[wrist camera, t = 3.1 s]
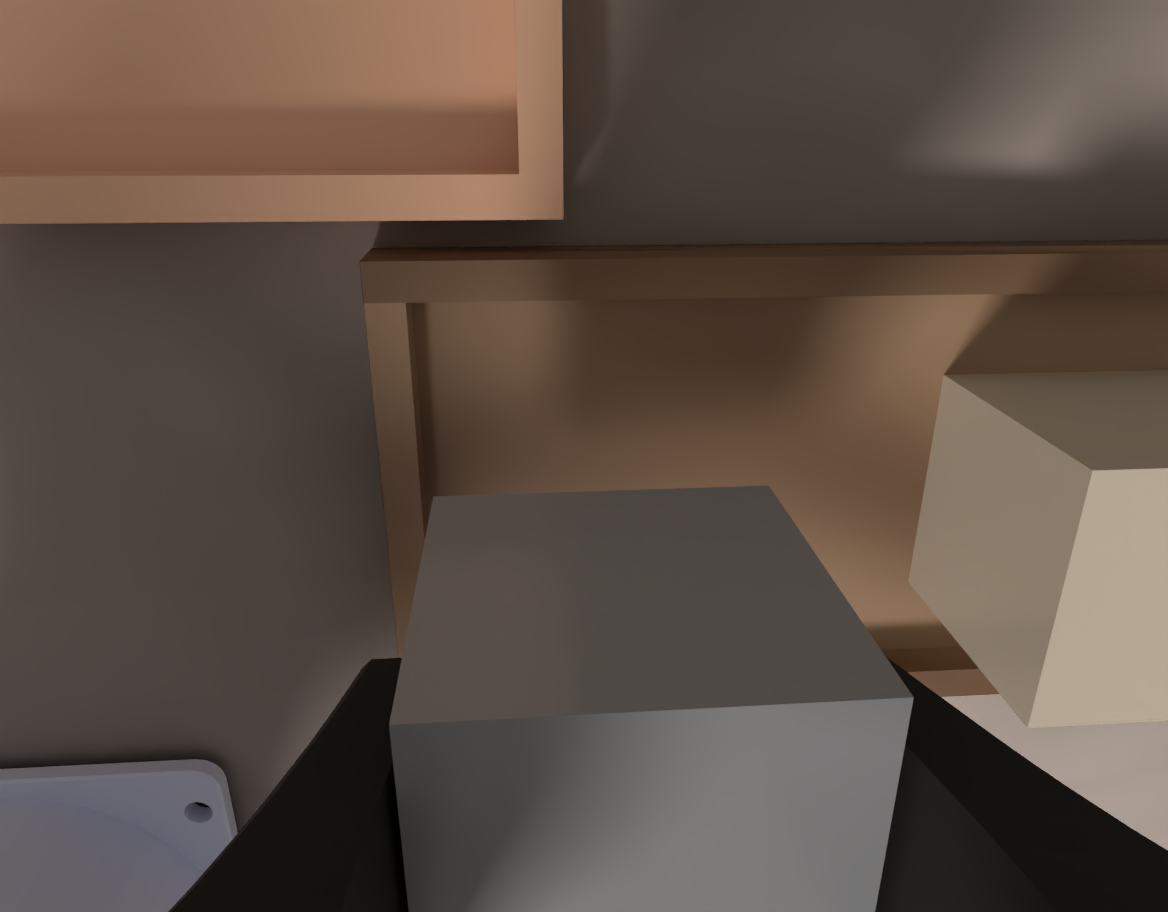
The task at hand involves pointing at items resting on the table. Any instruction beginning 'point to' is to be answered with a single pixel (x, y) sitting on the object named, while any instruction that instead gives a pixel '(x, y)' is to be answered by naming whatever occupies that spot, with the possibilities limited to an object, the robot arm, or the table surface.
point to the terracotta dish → (280, 110)
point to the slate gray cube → (639, 711)
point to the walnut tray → (732, 382)
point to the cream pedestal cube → (1053, 539)
